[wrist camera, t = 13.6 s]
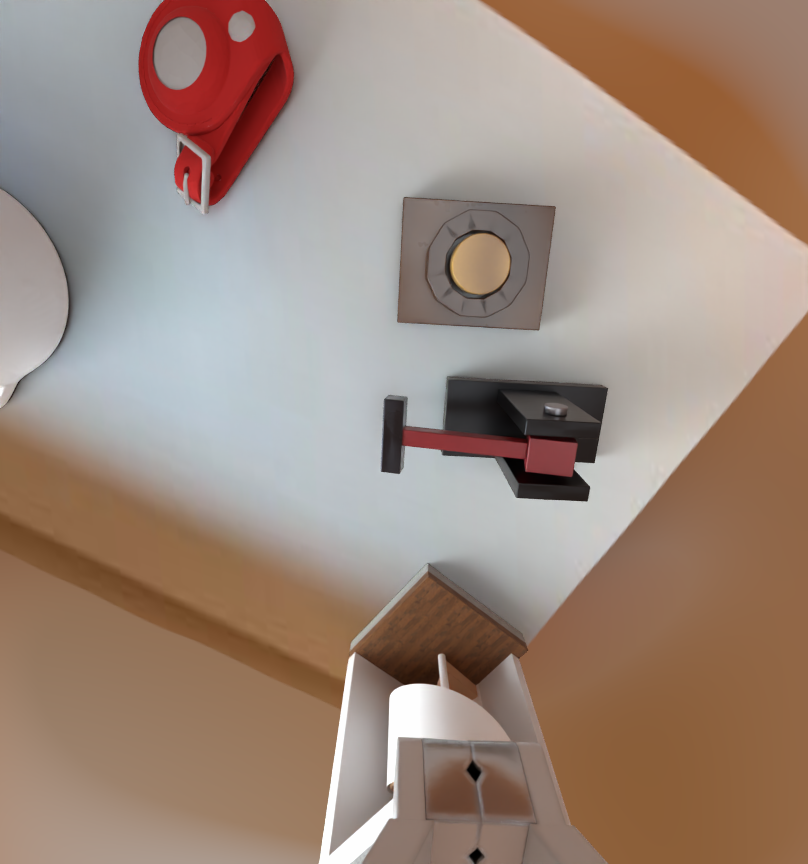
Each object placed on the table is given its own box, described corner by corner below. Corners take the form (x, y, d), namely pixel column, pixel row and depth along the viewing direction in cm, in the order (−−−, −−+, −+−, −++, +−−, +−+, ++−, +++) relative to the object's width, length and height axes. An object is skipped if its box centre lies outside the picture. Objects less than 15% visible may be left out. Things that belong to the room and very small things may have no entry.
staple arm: (386, 462, 34) (378, 474, 32) (390, 393, 33) (381, 400, 30) (564, 484, 32) (568, 498, 30) (575, 410, 31) (581, 420, 28)
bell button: (447, 292, 32) (449, 292, 30) (452, 233, 31) (454, 230, 29) (501, 295, 32) (507, 296, 30) (508, 237, 31) (514, 234, 29)
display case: (522, 633, 44) (906, 1745, 10) (445, 705, 46) (557, 1803, 13) (427, 563, 42) (527, 1673, 8) (351, 642, 44) (190, 1758, 11)
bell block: (397, 320, 36) (397, 324, 32) (403, 202, 34) (403, 191, 30) (531, 327, 36) (546, 332, 32) (546, 211, 34) (565, 201, 30)
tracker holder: (101, 19, 30) (232, -78, 26) (157, 62, 34) (276, -18, 31) (162, 214, 30) (297, 143, 27) (210, 232, 34) (332, 172, 31)
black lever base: (440, 450, 39) (453, 502, 30) (447, 376, 37) (462, 407, 28) (589, 458, 39) (647, 512, 30) (601, 384, 37) (668, 418, 28)
